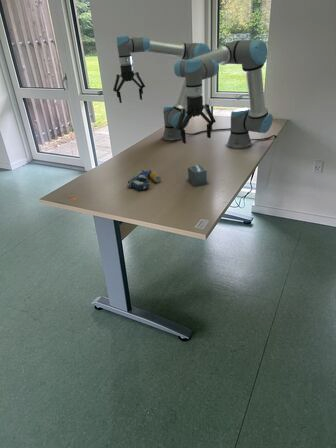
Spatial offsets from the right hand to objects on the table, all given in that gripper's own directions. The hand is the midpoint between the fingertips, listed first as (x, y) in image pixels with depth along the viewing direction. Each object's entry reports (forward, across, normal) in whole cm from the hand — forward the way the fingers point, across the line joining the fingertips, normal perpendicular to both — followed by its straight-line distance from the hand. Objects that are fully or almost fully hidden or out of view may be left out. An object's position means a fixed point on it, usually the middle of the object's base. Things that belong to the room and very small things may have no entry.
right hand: (196, 140), depth 167 cm
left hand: (-10, -14, +69) cm, 71 cm away
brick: (+23, -1, 0) cm, 23 cm away
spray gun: (+22, -26, +12) cm, 36 cm away
